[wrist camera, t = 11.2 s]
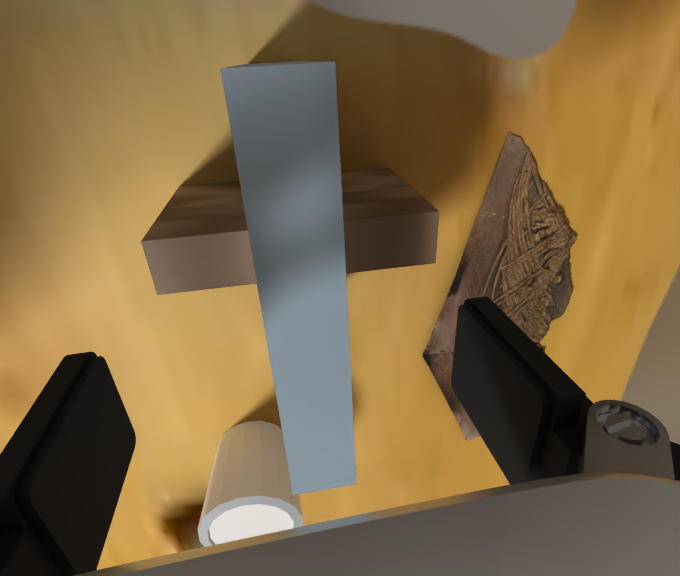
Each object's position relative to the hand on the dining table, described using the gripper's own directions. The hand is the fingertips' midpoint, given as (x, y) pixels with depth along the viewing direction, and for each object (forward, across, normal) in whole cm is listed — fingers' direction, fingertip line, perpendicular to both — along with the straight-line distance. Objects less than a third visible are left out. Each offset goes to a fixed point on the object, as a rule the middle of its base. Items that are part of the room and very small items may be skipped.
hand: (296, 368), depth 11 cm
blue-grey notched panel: (+15, -1, 0) cm, 15 cm away
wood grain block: (+15, -1, 0) cm, 15 cm away
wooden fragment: (+15, -15, +10) cm, 24 cm away
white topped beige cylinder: (+16, +4, +20) cm, 25 cm away
